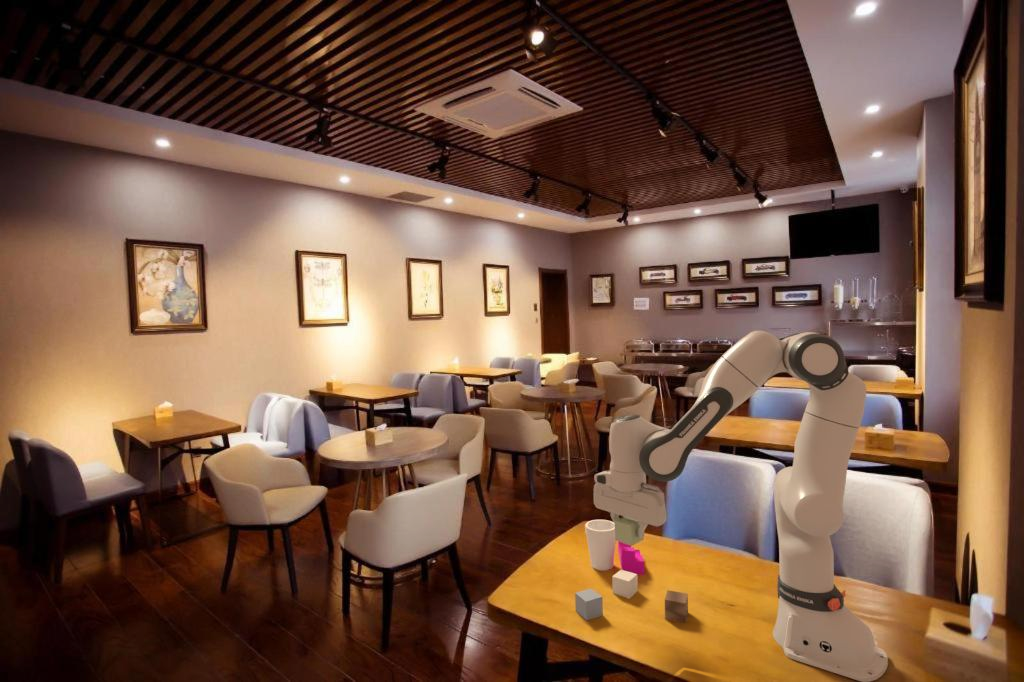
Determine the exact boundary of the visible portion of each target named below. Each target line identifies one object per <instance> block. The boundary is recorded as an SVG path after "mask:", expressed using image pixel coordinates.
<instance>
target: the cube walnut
mask: <svg viewBox="0 0 1024 682" xmlns="http://www.w3.org/2000/svg"><path fill="white" fill-rule="evenodd" d="M688 597H689V595H688V593H687V592H682V591H681V592H680V591H674V590H668V589H667V590H666V593H665V598H664V619H665V620H669V621H675V622H679V623H680V622H681V623H684V624H685V623H687V620H688V616H689V601H688V599H689V598H688Z"/></svg>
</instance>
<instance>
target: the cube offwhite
mask: <svg viewBox="0 0 1024 682" xmlns="http://www.w3.org/2000/svg"><path fill="white" fill-rule="evenodd" d="M611 580H612V594H613V595H614V594H615V595H617V596H619V597H623V598H626V599H629V600H630V599H631V598H632V597H634V595H635V594H636V593H637V592H638V590H639V589H638V586H639V585H638V575H637V574H634V573H631V572H628V571H624V570H622V569H619V570H618V571H617V572H616V573H615V574H613V575H612V579H611Z"/></svg>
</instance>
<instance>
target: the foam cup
mask: <svg viewBox="0 0 1024 682" xmlns="http://www.w3.org/2000/svg"><path fill="white" fill-rule="evenodd" d="M584 531H585V535H586V540H587V545H588V546H587V547H588V548H587V549H588V553H589V559H590V565H591V568H593V569H594V570H597V571H602V572H604V571H609V569H610V570H611V569H613V567H614V561H615V560H614V559H615V550H616V542H617V541H616V540H615V523H614V522H613V520H612V521H611V520H607V519H592V520H589V521H587V522H586V523H585V524H584Z"/></svg>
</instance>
